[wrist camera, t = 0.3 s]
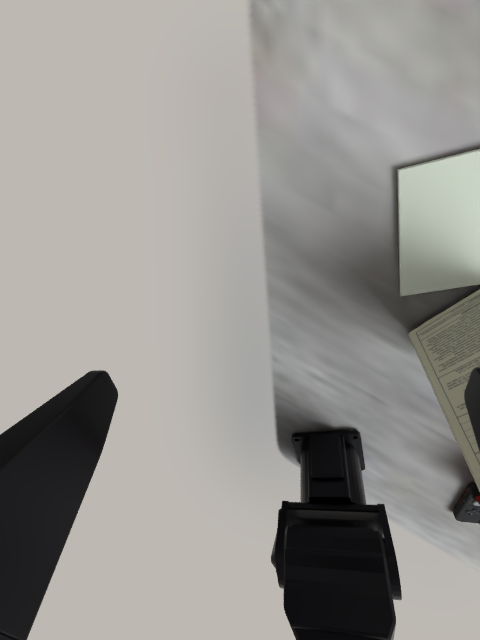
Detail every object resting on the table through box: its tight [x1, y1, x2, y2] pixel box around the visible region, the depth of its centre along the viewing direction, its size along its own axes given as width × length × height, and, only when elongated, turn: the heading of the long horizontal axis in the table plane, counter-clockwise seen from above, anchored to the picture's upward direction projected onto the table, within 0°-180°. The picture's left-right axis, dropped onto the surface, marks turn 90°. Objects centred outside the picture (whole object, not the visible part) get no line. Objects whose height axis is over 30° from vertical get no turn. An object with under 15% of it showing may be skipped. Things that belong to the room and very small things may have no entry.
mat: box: [397, 149, 480, 296], centre depth 18 cm, size 8×8×1 cm
